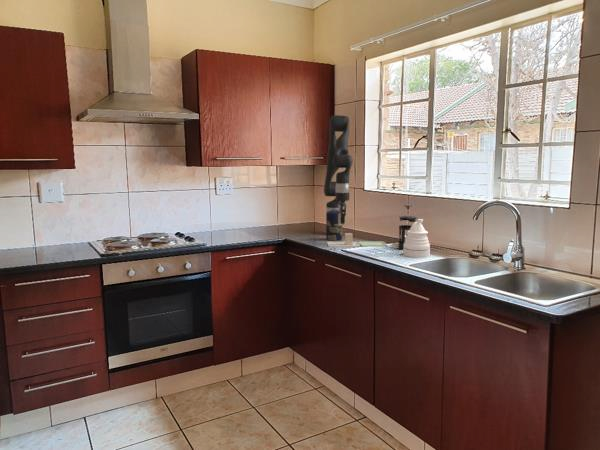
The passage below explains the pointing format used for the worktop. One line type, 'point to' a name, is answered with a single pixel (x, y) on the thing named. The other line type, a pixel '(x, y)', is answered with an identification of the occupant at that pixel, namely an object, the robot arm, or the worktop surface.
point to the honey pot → (417, 241)
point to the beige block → (348, 238)
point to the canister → (333, 226)
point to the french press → (404, 228)
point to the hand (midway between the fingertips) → (342, 222)
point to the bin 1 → (342, 244)
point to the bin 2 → (373, 243)
